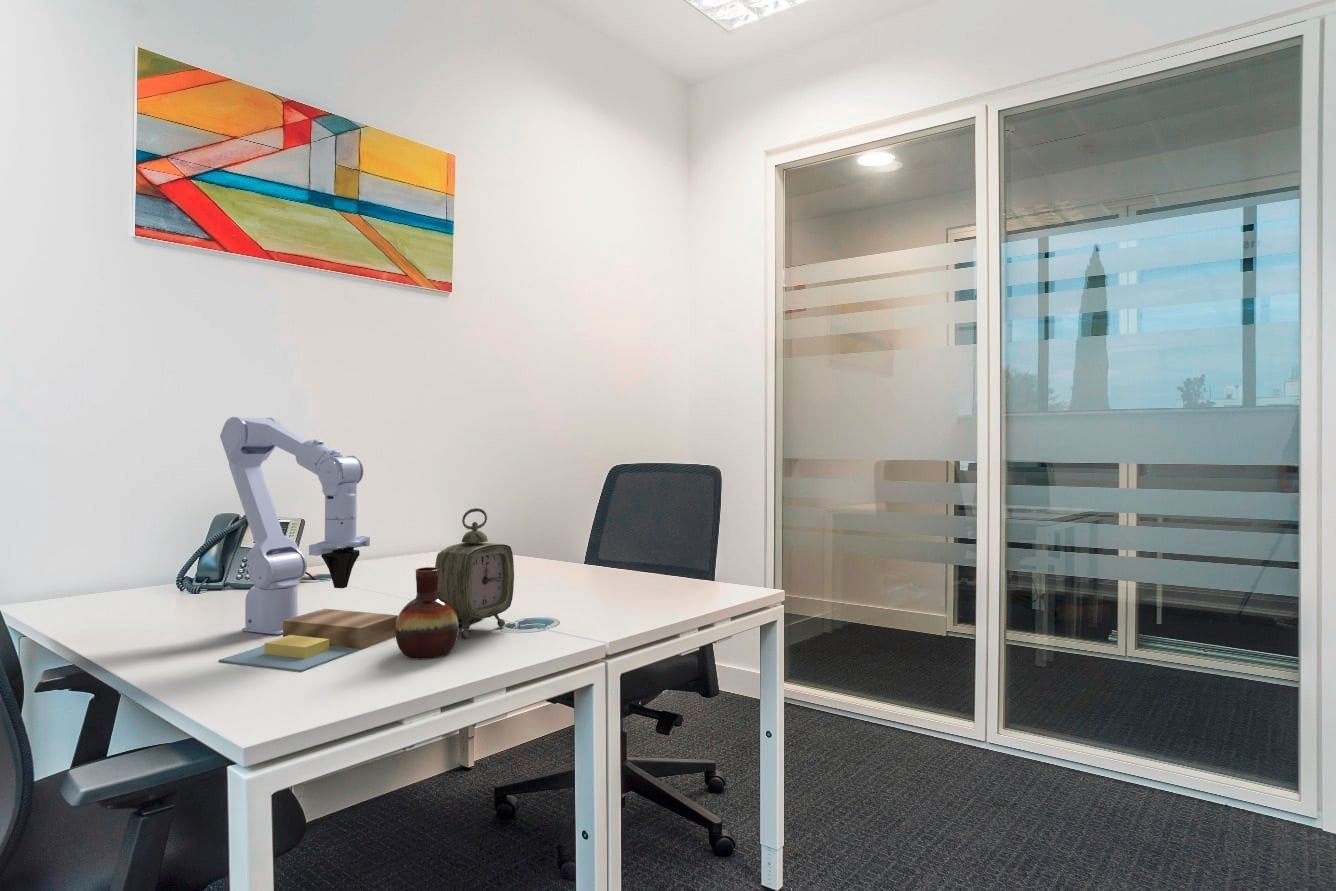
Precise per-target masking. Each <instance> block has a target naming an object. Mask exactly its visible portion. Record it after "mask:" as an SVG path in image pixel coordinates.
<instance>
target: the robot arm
mask: <svg viewBox="0 0 1336 891" xmlns="http://www.w3.org/2000/svg"><path fill="white" fill-rule="evenodd" d="M219 438H220V441H221V443H222V447H223V449H224V453H225V455H226V458H227V461H228V466H229V467H228V468H229V470H230V472H231V476H232V479H233V482H234V485H235V487H236V491H237V494H238V496H239V500H240V502H241V503H240V504H241V505H242V509H243V512H244V514H245V517H246V520H247V523H248V526H249V529H250V532H251V535H252V538H253V542H254V545H253V547H252V548H250V550H249V552H248V553H247V554H246V560H247V564H248V570H247V571H248V577H249V579H250V582H251V583H252V584H253V586H252V587H250V589H249V590H248V591H247V594H246V596H245V601H244V602H245V603H244V605H245V607H244V609H245V613H244V614H245V616H244V618H245V620H244V621H245V622H244V624H245V626H244V627H243V628H241V631H242V632H250V633H251V632H252V633H259V634H268V635H283V620H286V619H290V618H293V617H297V616H299V615H298V612H299V611H298V607H299V606H298V604H299V603H298V601H299V600H298V599H299V598H298V597H299V595H298V594H299V593H298V588H299V587H298V586H299V584H301V582H302V580H301V579H303V578H304V576H305V574H306V573H307V570H308V562H307V559H306V557H305V555H304V554H303V552H301V550H300V549H299V547H298V544H297V542H295V541H294V540H293V539H291V538H289V537H287V536H286V535H284V532H283V529H282V526H281V523H280V521H279V517H278V515H277V512H276V509H275V505H274V503H273V500H272V496H271V495H270V491H269V488H268V486H267V482H266V480H265V477H264V474H263V471H262V467H261V466H262V464H263V462H265V461H267V460H268V458H269V457H270V455H272V453H273V452H274V450H275V449H276V448H279V449H281V450H283V451H285V452H287V453H289V454H291V455H294V457H295V461H296V464H298V465H299V466H301V467H303V468H304V469H306V470H308V471H309V472H310V473H313V474H314V475H316V476H317V477H318V480H319V482H320V484H321V487H322V489H321V490H322V493H323V495H324V540H323V541H320V542H317V543H314V544H309V545H308V556H313V557H314V556H316V557H318V556H321V558H322V560H323V561H324V563H325V565H326V567H327V569H328V571H329V574H330V577H331V578H330V579H331V581H332V585H333V588H334V589H346V588H348V584H349V580H350V577H351V574H352V570H353V568H354V566H355V563H356V561H357V559H358V558H359V556H360V554H361V553H360V550H359V549H356V548H361V547H370V546H371V542H370V541H371V536H367V535H366V536H365V535H361V536H357V510H358V509H357V506H358V504H357V503H358V502H357V501H358V500H357V496H358V495H357V489H358V488H357V485H358V484H359V483H360V482H361V481H362V479H363V477H364V466H363V464H362V462H361V461H360V459H358V458H357V457H356V456H355V455H347V456H343V454H341V451H340V450H337V449H332V448H330V447H328V446H326V445H325V444H324V443H325V441H324V440H321V439H317V438H316V439H309V440H304V439H303V438H302V437H300V436H299V435H297V434H295V433H294V432H293V431H291V430H290V429H288V428H287V427H285V426H284V424H283V422H281V421H278V420H277V419H275V418H273V417H265V418H264V417H263V418H262V417H259V418H257V417H256V418H255V417H251V418H250V417H238V416H231V417H229V418H228V419H226V421H225V422H224V424H223V426H222V430H221V433H220V436H219Z"/></svg>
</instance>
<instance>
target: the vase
mask: <svg viewBox="0 0 1336 891" xmlns="http://www.w3.org/2000/svg"><path fill="white" fill-rule="evenodd" d="M438 579H439V568H435V566H434V567H433V566H431V567H430V566H425V567H418V568H415V582H416V584H415V585H416V596H415V598H413V599H412V600H410V601H409V602H408V603H407V604H405V606H403V608H401V610H400V612H399V614H398V618H397V621H396V625H395V636H396V637H395V641H396V644H397V647H398V648H399V651H400V652H401V653H402V655H404V657H406V658H409V659H415V660H429V659H437V658H442V657H444V656H446V655H449V653H451V651H452V650H453V648H454V646H455V644H456V642H457V639H458V636H459V630H460V629H459V623H458V617H457V614H456V612H455V610H454V609H453V607H452V606H451V605H450V604H449V603H448V602H447V601H445V600H444V599H442V598H440V597H439V596H438Z"/></svg>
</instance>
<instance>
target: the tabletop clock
mask: <svg viewBox="0 0 1336 891" xmlns="http://www.w3.org/2000/svg"><path fill="white" fill-rule="evenodd" d="M474 512H475V513H477V512H479V513H482V514H483V516H484V521H483V522H482V523H480V524H478V522H476V521H474V522H472V523H471V526H470V525H468V524H466V521H465V520H466V517H467V516H468V515H469V514H471V513H474ZM487 520H488V515H487V512H486V511H485V510H484V509H481V508H477V507H475V508H471V509H468V510H467V511H466V512H465V513H464V514H463V516H462V520H461V523H462V526H463V527H464V528H465V529H466V530H469V531H467V532H466V533H465V534H464V535H463V536H462V538H461V543H457V544H453V545H449V546H448V547H446V548H445V547H444V549H442V550H441V551H439V552H438V553H437V555H436V559H435V563H434V564H435V566H434V567H435V568H439V579H438V596H439V597H440V598H442V599H444V600H445V601H447V602H448V603H449V604H450V605H451V606H452V607H453V609H454V610H455V612H456V614H457V617H461V619H462V622H463V624H462V628H461V629H462V630H461V631H460V637H461V638H462V639H467V638H468V637H469V635H470V632H469V631H468V630H470V627H471V626H470V625H471V624H469V623H468V621H469V619H480V620H483V619H487V618H491V617H494V618H495V619H496V620H497V622H496V625H497V626H498V627H500V628H502V627H503V628H504V627H505V624H506V620H505V619H504V618H500V617H499V616H500V615H499V614H502V613H504V612H505V611H507V610H508V609H510V607H511V605H512V602H513V596H514V588H515V587H514V586H515V584H514V583H515V569H514V568H515V567H514V566H515V565H514V555H513V550H512V547H511V546H510V545H507V544H503V543H494V542H493V543H491V542H489V539H488V537H487V536H486V534H485V533H484V532H483V531H482V530H479V529H481V528H483V527H484V526H485V525H486V523H487Z"/></svg>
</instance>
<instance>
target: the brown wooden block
mask: <svg viewBox="0 0 1336 891" xmlns="http://www.w3.org/2000/svg"><path fill="white" fill-rule="evenodd" d="M398 615H399V614H398ZM398 615H396V614H390V613H389V614H388V613H387V614H386V613H376V612H365V611H354V610H353V611H352V610H342V609H332V608H322V609H318V610H316V611H315V610H314V611H311V612H308V613H305V614H301V615H298V616H297V617H293V618H290V619H286V620H283V633H282V637H285V636H288V635H295V636H305V637H314V638H324V639H330V646H338V647H347V648H357V649H359V650H358V651H360V650H363V649H366V648H368V647H371V646H375V645H377V644H379V643H382V642H384V641H387V640H391V639H393V638H396V636H395V625H396V621H397V618H398Z"/></svg>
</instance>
